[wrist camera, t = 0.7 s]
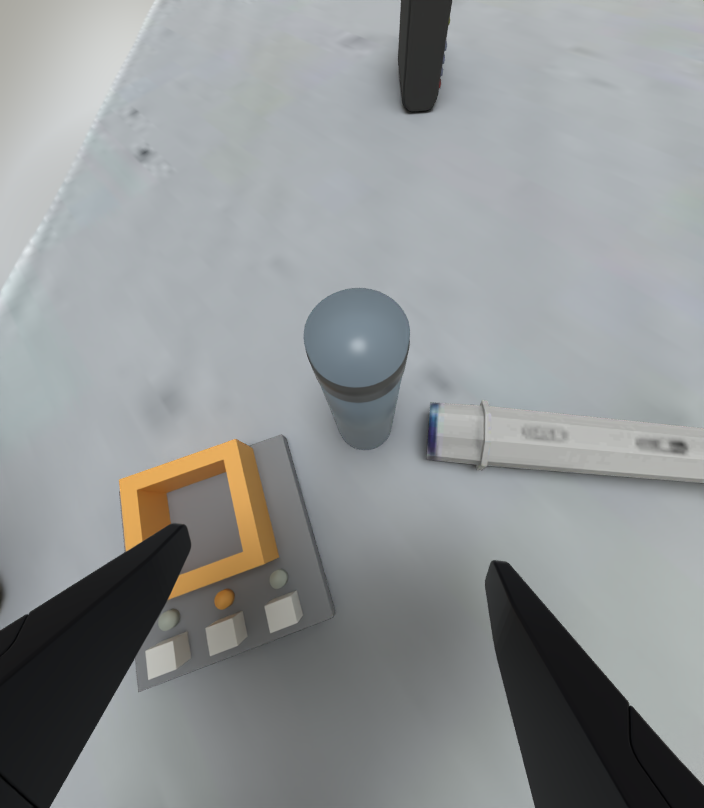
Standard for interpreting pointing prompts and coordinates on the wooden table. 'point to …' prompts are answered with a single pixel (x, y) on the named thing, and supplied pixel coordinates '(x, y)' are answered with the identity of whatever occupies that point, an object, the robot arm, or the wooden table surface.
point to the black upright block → (422, 50)
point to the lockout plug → (359, 361)
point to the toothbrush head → (564, 443)
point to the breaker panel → (227, 555)
